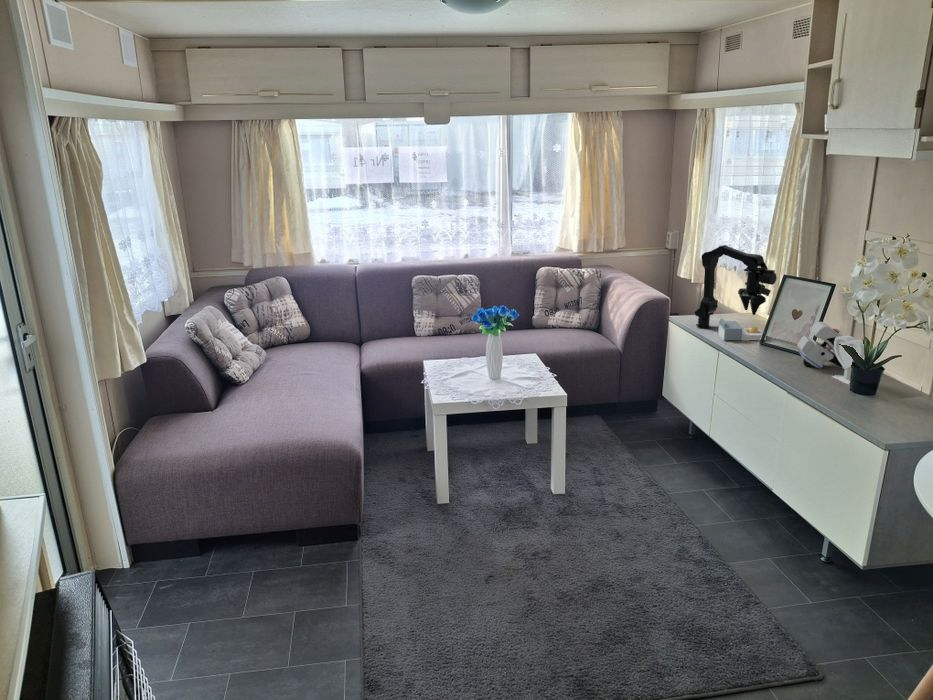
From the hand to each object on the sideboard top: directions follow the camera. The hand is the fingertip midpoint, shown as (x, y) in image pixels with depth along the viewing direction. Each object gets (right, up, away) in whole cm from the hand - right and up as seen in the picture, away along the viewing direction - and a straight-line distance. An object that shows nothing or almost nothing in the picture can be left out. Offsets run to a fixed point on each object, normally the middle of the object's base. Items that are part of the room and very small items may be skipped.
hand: (749, 312), depth 349 cm
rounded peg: (+3, -12, +3) cm, 13 cm away
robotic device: (+15, -26, -39) cm, 50 cm away
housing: (-2, -12, +4) cm, 13 cm away
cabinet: (-8, -12, +5) cm, 15 cm away
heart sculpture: (+17, -31, -57) cm, 67 cm away
